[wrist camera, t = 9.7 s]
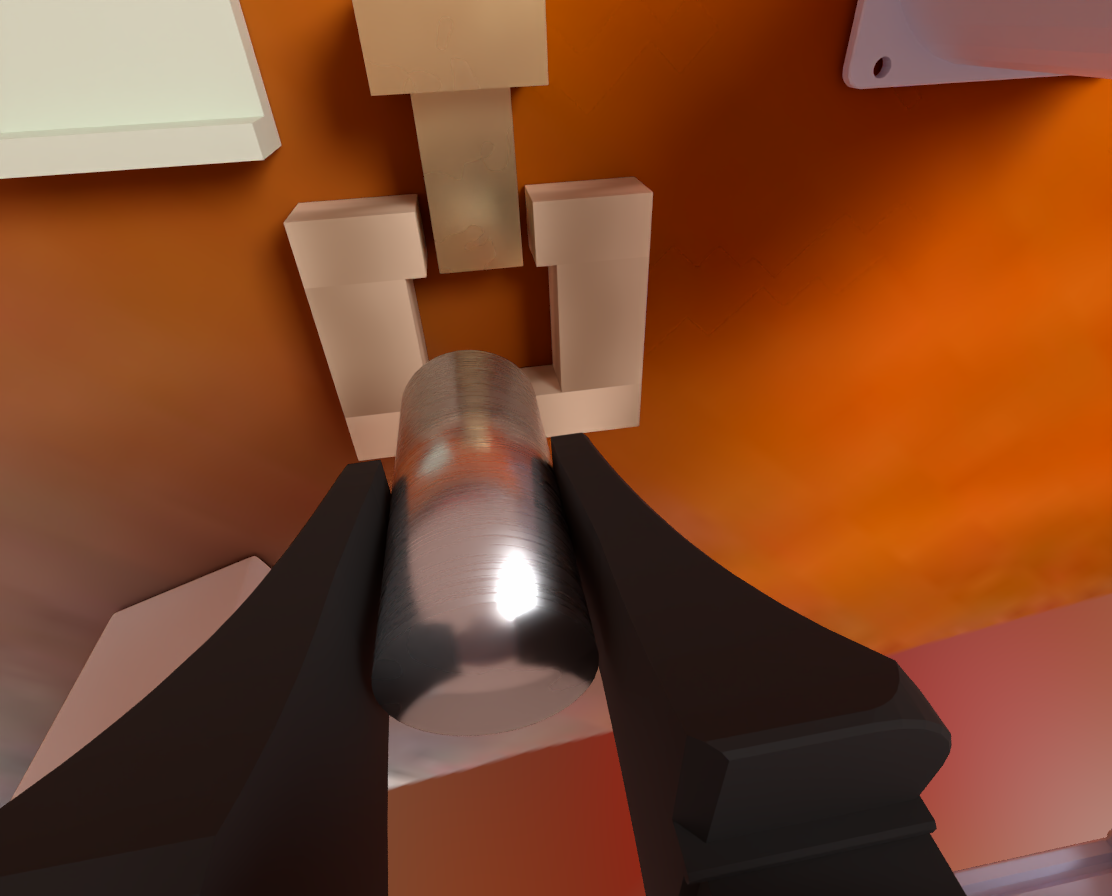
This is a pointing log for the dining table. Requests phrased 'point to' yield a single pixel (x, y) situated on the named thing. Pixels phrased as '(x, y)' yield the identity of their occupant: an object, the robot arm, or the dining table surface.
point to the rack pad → (128, 86)
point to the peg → (477, 560)
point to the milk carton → (141, 657)
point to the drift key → (461, 110)
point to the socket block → (401, 255)
